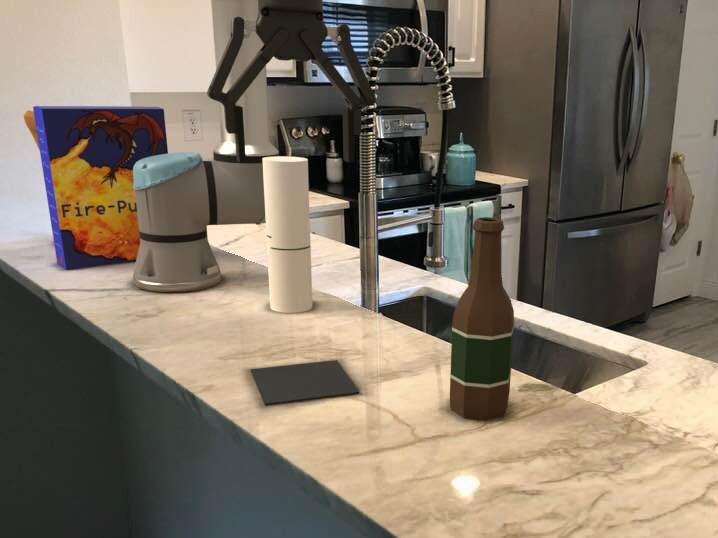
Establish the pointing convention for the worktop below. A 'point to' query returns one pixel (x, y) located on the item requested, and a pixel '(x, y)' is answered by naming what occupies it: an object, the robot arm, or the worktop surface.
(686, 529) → the worktop surface
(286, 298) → the cylindrical container
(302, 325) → the worktop surface
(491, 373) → the beer bottle
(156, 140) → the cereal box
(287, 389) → the mat
